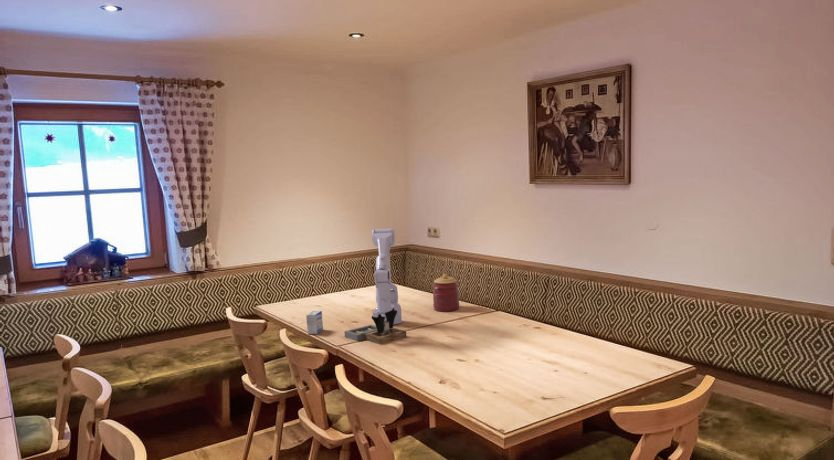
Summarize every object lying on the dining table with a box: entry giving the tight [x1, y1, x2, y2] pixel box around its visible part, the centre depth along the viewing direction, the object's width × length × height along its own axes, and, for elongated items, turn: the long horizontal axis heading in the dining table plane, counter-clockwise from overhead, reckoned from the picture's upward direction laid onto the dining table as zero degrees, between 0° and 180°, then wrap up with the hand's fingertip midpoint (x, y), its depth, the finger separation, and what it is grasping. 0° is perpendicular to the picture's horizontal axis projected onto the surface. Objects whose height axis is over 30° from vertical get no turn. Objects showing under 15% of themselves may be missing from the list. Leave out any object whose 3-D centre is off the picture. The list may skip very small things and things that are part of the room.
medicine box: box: [305, 310, 324, 335], centre depth 265 cm, size 8×4×9 cm, turn 168°
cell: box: [381, 321, 390, 336], centre depth 250 cm, size 4×4×6 cm
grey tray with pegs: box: [344, 324, 377, 342], centre depth 256 cm, size 14×9×3 cm
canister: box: [432, 273, 461, 313], centre depth 296 cm, size 13×13×18 cm
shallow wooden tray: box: [364, 326, 407, 345], centre depth 251 cm, size 14×10×2 cm
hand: (385, 330), depth 250 cm, fingers open, 7 cm apart
